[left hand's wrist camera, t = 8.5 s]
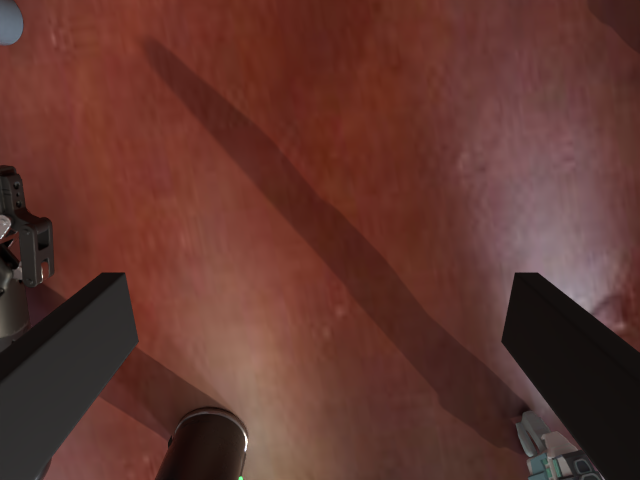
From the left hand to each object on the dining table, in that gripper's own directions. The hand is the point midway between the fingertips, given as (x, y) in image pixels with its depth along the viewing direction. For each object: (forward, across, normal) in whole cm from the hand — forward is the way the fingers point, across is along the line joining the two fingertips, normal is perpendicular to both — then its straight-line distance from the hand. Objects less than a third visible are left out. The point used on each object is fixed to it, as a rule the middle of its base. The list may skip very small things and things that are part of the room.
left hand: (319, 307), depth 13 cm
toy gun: (+27, +28, -34) cm, 51 cm away
